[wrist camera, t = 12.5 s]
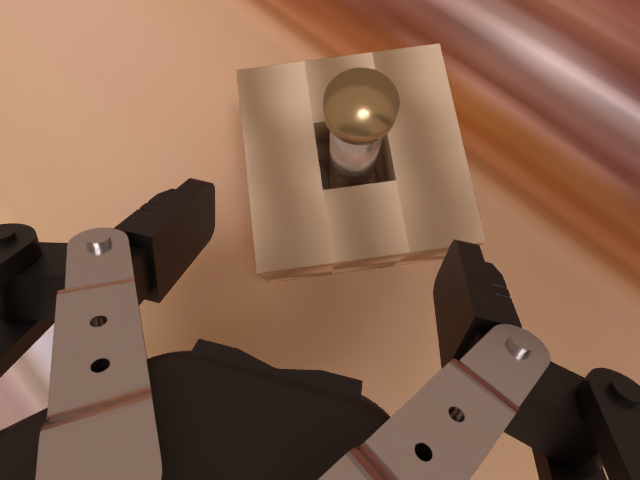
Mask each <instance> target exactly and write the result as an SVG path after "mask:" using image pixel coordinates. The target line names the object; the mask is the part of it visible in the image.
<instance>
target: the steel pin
mask: <svg viewBox="0 0 640 480" xmlns="http://www.w3.org/2000/svg"><path fill="white" fill-rule="evenodd" d="M399 105H400V100H399V94H398V91H397V89H396V87H395V85H394V83H393V82H392V81H391V80H390V79H389V78H388V77H387V76H386V75H384V74H383V73H381V72H379V71H377V70H374V69H370V68H361V67H360V68H352V69H348V70H346V71H343V72H341V73H340V74H338V75H337V76H335V77H334V78H333V79H332V80H331V81H330V83H329V84H328V86H327V88H326V90H325V93H324V97H323V113H324V120H325V123H326V125H327V127H328V129H329V130H330V189H335V188H342V187H350V186H357V185H365V184H369V181H370V178H371V175H372V172H373V168H374V165H375V162H376V158H377V155H378V152H379V148H380V145H381V142H382V138H383V137H385V136H386V135H387V134H388V133H389V132H390V130H391V129H392V127H393V125H394V122H395V119H396V116H397V114H398V110H399Z"/></svg>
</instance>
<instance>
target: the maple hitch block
mask: <svg viewBox="0 0 640 480" xmlns="http://www.w3.org/2000/svg"><path fill="white" fill-rule="evenodd" d="M360 67H361V68H370V69H374V70H377V71H379V72H381V73H383V74H384V75H386V76H387V77H388V78H389V79H390V80H391V81H392V82H393V83H394V85H395V87H396V89H397V91H398V94H399V100H400V105H399V110H398V114H397V116H396V119H395V122H394V125H393V127H392V129H391V130H390V132H389V133H388V134H387V135H386V136H385V137H383V138H382V142H381V145H380V148H379V152H378V155H377V158H376V162H375V167H376V173H377V179H378V183H372V184H365V185H357V186H350V187H342V188H335V189H327V190H323V187H322V180H321V173H320V166H319V160H320V159H328V158H330V130H329V129H328V127H327V125H326V123H325V120H324V113H323V97H324V93H325V90H326V88H327V86H328V84H329V83H330V81H331V80H332V79H333V78H334V77H335V76H337V75H338V74H340V73H341V72H343V71H346V70H348V69H352V68H360ZM236 71H237V81H238V91H239V101H240V112H241V122H242V132H243V142H244V152H245V162H246V172H247V182H248V192H249V202H250V212H251V222H252V232H253V242H254V252H255V262H256V272H257V274H258V275H260V276H262V277H263V278H265V279H266V280H268V281H269V282H278V281H285V280H292V279H300V278H307V277H314V276H322V275H329V274H336V273H343V272H351V271H358V270H365V269H373V268H380V267H387V266H395V265H402V264H409V263H417V262H424V261H431V260H439V259H444V258H445V256H446V254H447V251H448V249H449V247H450V245H451V243H452V241H453V240H455V239H456V240H460V241H464V242H469V243H473V244H477V245H481V244H483V243H485V242H486V241H485V237H484V232H483V228H482V224H481V219H480V215H479V211H478V206H477V202H476V198H475V194H474V189H473V185H472V181H471V176H470V172H469V168H468V163H467V159H466V155H465V151H464V146H463V142H462V138H461V133H460V129H459V125H458V120H457V116H456V112H455V108H454V103H453V99H452V95H451V90H450V86H449V82H448V77H447V73H446V69H445V65H444V60H443V56H442V52H441V47H440V44H432V45H424V46H417V47H409V48H401V49H394V50H386V51H378V52H371V53H363V54H355V55H348V56H340V57H332V58H325V59H317V60H309V61H302V62H294V63H286V64H279V65H271V66H263V67H256V68H248V69H240V70H236Z"/></svg>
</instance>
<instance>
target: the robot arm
mask: <svg viewBox="0 0 640 480" xmlns="http://www.w3.org/2000/svg"><path fill="white" fill-rule="evenodd" d="M214 228H215V187H214V184H213V183H210V182H205V181H201V180H197V179H192V178H190V179H188V180H187V181H185V182H184V183H183V184H182V185H181V186H179V187H178V188H177V189H176V190H175V189H170V190H167V191H164V192H162V193H159V194H157V195H156V196H154V197H153V198H152V199H151V200H149V201H148V203H146V204H144V205H143V206H142V207H140V210H139V209H138V210H137V211H135V212H134V213H133V214H131V215H130V216H129V217H128V218H126V219H125V220H124V221H122V222H121V223H120V224H119V225H117V226H116V227H115V228H114V229H113V228H95V229H90V230H86V231H83V232H81V233H79V234H77V235H75V236H74V237H73V238H71V240H70V241H69V242H68V243H46V242H39V241H38V238H37V235H36V231H35V230H34V229H33V228H32V227H30V226H28V225H24V224H1V225H0V377H1V376H2V375H3V374H4V373H5V372H6V371H7V370H8V369H9V368H10V367H11V366H12V365H13V364H14V363H15V362H16V361H17V360H18V359H19V358H20V357H21V356H22V355H23V354H24V353H25V352H26V351H27V350H28V349H29V348H30V347H31V346H32V345H33V344H34V343H35V342H36V341H37V340H38V339H39V338H40V337H41V336H42V335H43V334H44V333H45V332H46V331H47V330H48V329H49V328H50V327H51V326H52V325H53V324H54V336H53V349H52V362H51V375H50V388H49V400H48V408H46V409H44V410H42V411H40V412H38V413H36V414H34V415H31V416H29V417H27V418H25V419H23V420H21V421H19V422H17V423H15V424H13V425H11V426H9V427H7V428H5V429H3V430H1V431H0V480H470V478H471V477H472V475H473V474H474V473H475V471H476V470H477V468H478V467H479V465H480V464H481V463H482V461H483V460H484V458H485V457H486V455H487V454H488V453H489V451H490V450H491V448H492V447H493V446H494V444H495V443H496V441H497V440H498V438H499V437H500V436H501V434H502V433H503V432H505V433H507V434H509V435H510V436H512V437H514V438H516V439H517V440H519V441H521V442H523V443H525V444H526V445H528V446H530V447H532V451H533V455H534V459H535V463H536V467H537V472H538V476H539V480H607V478H606V476H605V473H604V471H603V467H604V468H605V470H606V473H607V475H608V478H609V480H640V386H639V385H638V384H637V383H635V382H634V381H633V380H631V379H630V378H628V377H626V376H624V375H623V374H621V373H618V372H616V371H613V370H610V369H606V368H595V369H593V370H591V371H590V372H589V373H588V374H587V376H586V377H585V378H584V377H582V376H580V375H578V374H576V373H573V372H571V371H569V370H567V369H565V368H563V367H561V366H559V365H557V364H555V363H553V362H551V361H550V355H549V352H548V350H547V348H546V347H545V346H544V344H543V343H542V342H541V341H540V340H539V339H538V338H537V337H535V336H534V335H533V334H531V333H530V332H528V331H526V330H524V329H522V326H521V323H520V321H519V318H518V315H517V313H516V310H515V307H514V305H513V302H512V299H510V294H509V291H508V289H506V287H507V286H506V284H505V281H504V278H503V276H502V274H501V273H500V272H499V271H498V270H497V269H496V268H495V266H494V265H493V264H492V263H487V262H485V261H484V258H483V255H482V252H481V249H480V246H479V245H477V244H473V243H469V242H464V241H460V240H456V239H455V240H453V241H452V243H451V245H450V247H449V249H448V251H447V254H446V256H445V258H444V261H443V263H442V265H441V268H440V270H439V272H438V275H437V277H436V280H435V284H434V290H433V297H434V305H435V314H436V323H437V332H438V340H439V349H440V358H441V366H442V369H441V370H440V371H439V372H438V373H437V374H436V375H435V376H434V377H433V378H432V379H431V380H430V381H429V382H428V383H427V384H426V385H425V386H423V387H422V388H421V389H420V390H419V391H418V392H417V393H416V394H415V395H414V396H413V397H412V398H411V399H410V400H409V401H408V402H407V403H405V404H404V405H403V406H402V407H401V408H400V409H399V410H398V411H397V412H396V413H395V414H394V415H393V416H392V417H390V416H389V415H388V414H387V413H386V412H385V411H384V410H383V409H382V408H381V407H379V406H378V405H377V404H376V403H374V402H373V401H371V400H370V399H368V398H366V397H365V396H363V395H361V391H362V381H361V380H357V379H353V378H349V377H345V376H341V375H337V374H334V373H330V372H326V371H322V370H294V369H277V368H274V367H272V366H270V365H268V364H266V363H264V362H262V361H260V360H258V359H256V358H255V357H253V356H251V355H249V354H247V353H245V352H243V351H241V350H239V349H237V348H233V347H229V346H225V345H221V344H217V343H214V342H210V341H206V340H202V339H199V340H198V341H197V343H196V345H195V346H194V348H193V349H192V351H179V352H172V353H166V354H162V355H158V356H155V357H152V358H149V359H147V355H146V348H145V342H144V335H143V329H142V322H141V316H140V309H139V305H140V304H141V303H142V301H143V300H144V299H145V300H149V301H153V302H157V303H160V302H161V300H162V299H163V298H164V297H165V295H166V294H167V293H168V292H169V291H170V289H171V288H172V287H173V286H174V284H175V283H176V282H177V281H178V279H179V278H180V277H181V276H182V274H183V273H184V272H185V271H186V269H187V268H188V267H189V266H190V264H191V263H192V262H193V261H194V260H195V258H196V257H197V256H198V255H199V253H200V252H201V251H202V250H203V248H204V247H205V246H206V245H207V243H208V242H209V241H210V239H211V237H212V235H213V232H214Z"/></svg>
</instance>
